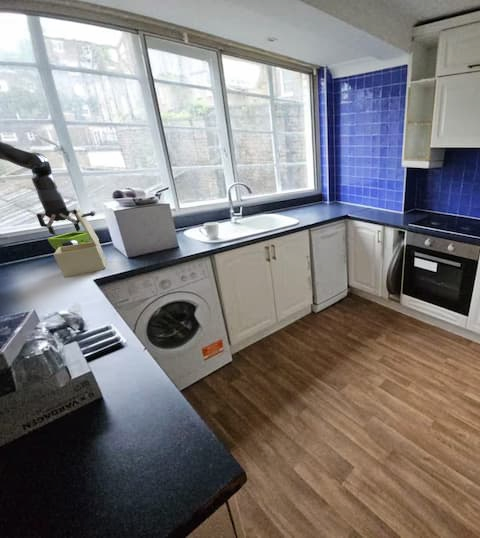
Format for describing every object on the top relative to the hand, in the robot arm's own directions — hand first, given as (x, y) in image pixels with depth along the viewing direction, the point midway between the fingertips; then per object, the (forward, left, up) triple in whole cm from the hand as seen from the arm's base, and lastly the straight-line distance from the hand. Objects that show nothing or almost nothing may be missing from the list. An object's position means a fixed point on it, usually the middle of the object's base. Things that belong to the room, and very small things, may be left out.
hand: (66, 232), depth 141 cm
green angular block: (-4, +30, -20) cm, 36 cm away
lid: (+8, 0, +1) cm, 8 cm away
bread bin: (+2, 0, -20) cm, 20 cm away
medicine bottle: (-3, +16, -20) cm, 26 cm away
